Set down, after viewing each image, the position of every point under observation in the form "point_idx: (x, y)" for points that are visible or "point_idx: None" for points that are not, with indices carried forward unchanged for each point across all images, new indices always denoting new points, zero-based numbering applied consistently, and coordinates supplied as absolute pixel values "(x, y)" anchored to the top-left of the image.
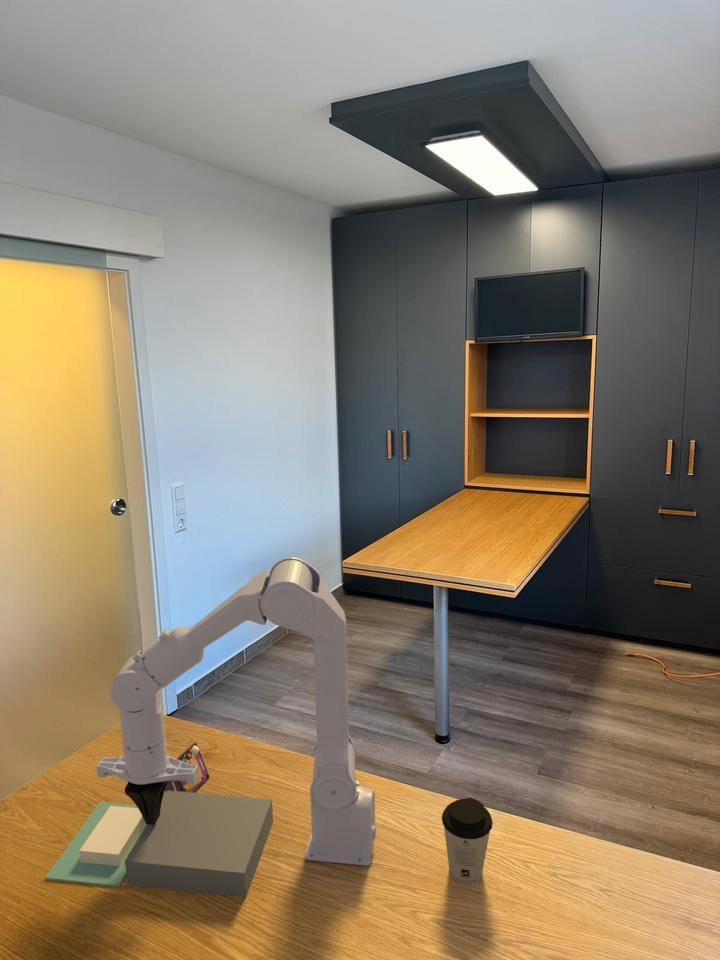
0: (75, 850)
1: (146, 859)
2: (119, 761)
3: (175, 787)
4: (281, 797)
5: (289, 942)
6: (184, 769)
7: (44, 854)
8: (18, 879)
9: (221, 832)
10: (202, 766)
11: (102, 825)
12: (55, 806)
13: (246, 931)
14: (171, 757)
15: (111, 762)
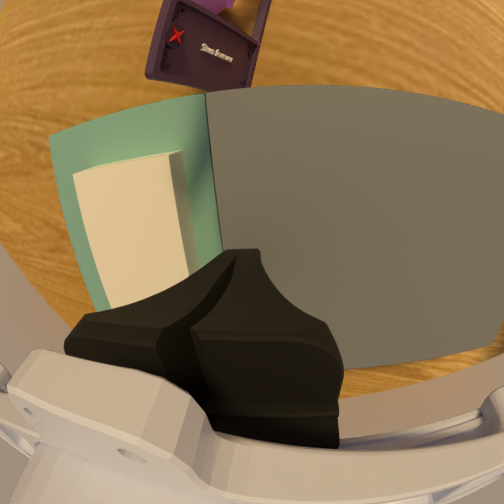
0: (96, 271)
1: None
2: (12, 433)
3: (218, 48)
4: (493, 45)
5: (500, 347)
6: (473, 487)
7: (62, 278)
8: (74, 322)
9: (463, 262)
10: None
11: (99, 240)
12: (5, 175)
13: (462, 352)
14: (374, 501)
15: (3, 435)
